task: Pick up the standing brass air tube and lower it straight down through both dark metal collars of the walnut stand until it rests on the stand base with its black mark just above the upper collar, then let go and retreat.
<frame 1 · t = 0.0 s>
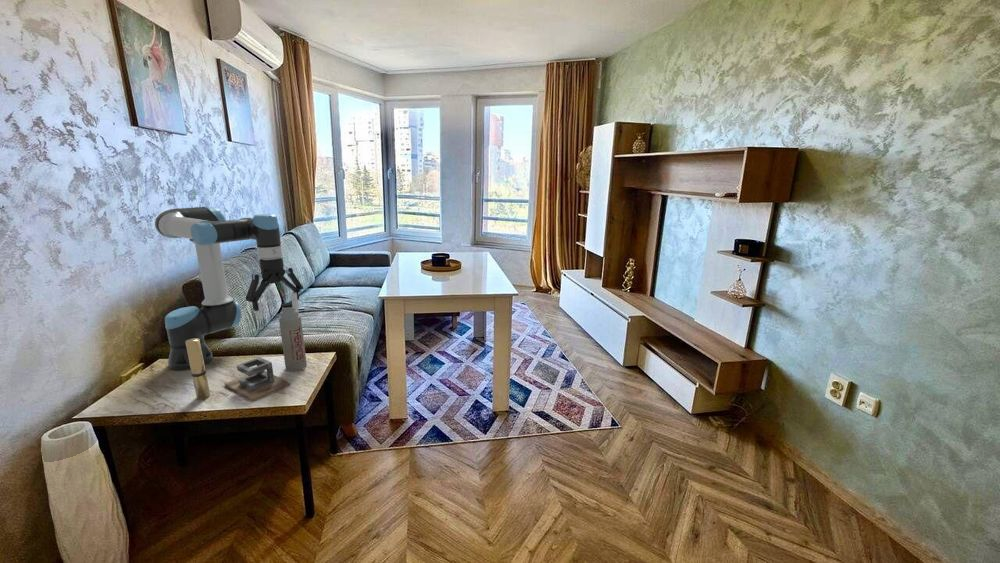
hand: (278, 313, 152), 28 cm above the table, fingers open, 13 cm apart
collar stand: (257, 385, 156), on the table
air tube: (203, 396, 147), on the table
thermos bottle: (296, 367, 171), on the table
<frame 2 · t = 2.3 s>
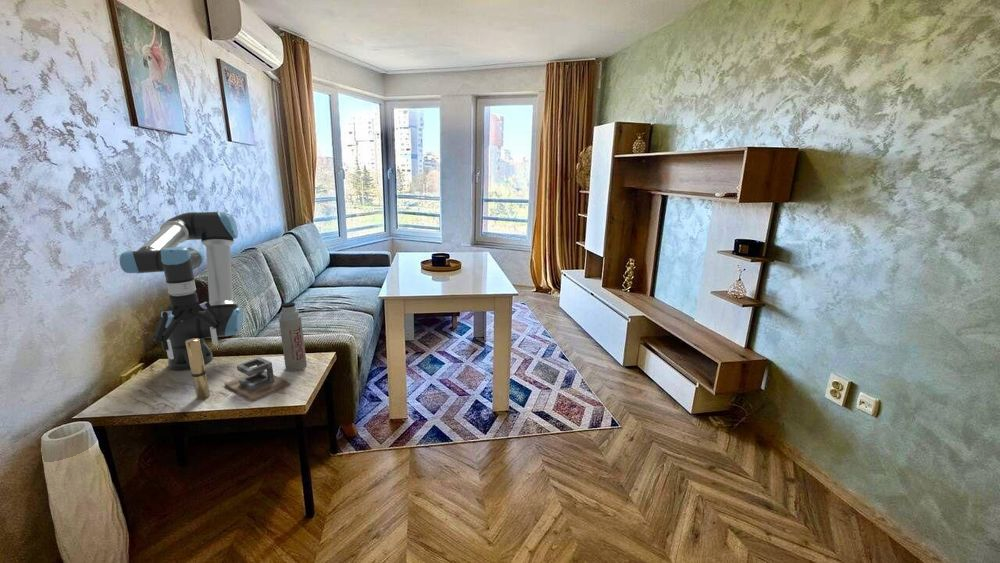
hand: (194, 351, 143), 18 cm above the table, fingers open, 13 cm apart
nothing on the table moved.
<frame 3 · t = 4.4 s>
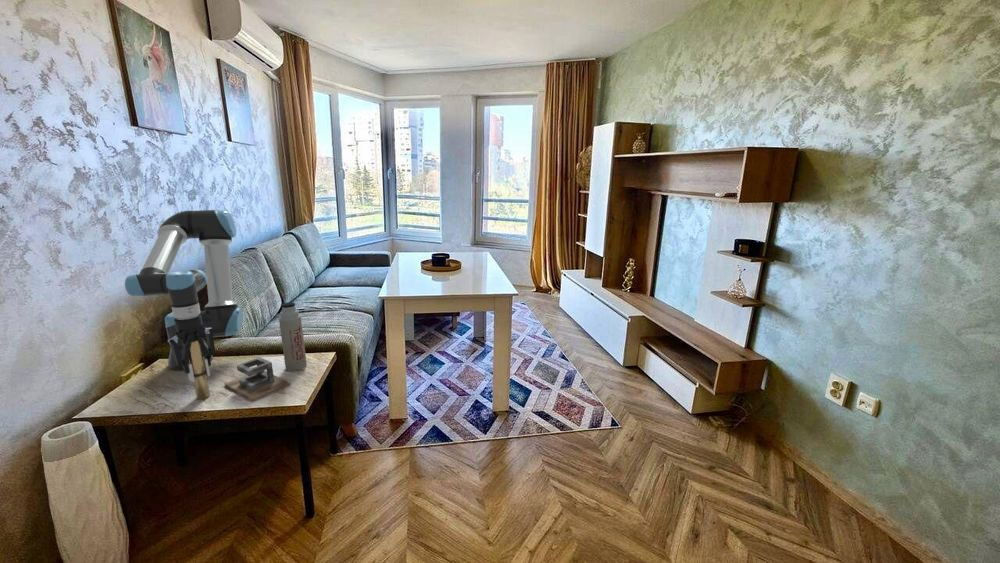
hand: (199, 377, 145), 8 cm above the table, fingers closed on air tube, 4 cm apart
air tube: (203, 396, 147), on the table, touching gripper
everything else where it was.
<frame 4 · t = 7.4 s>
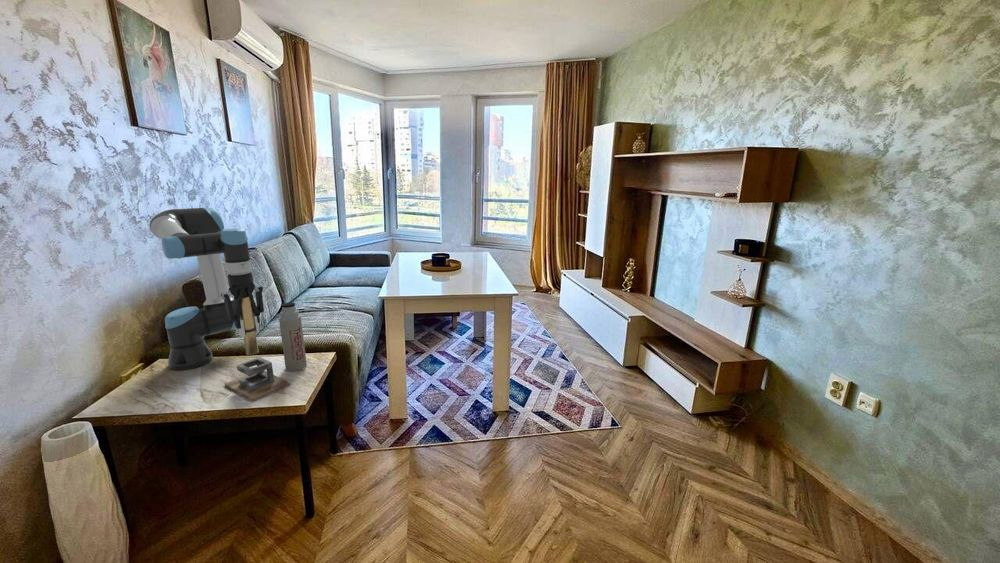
hand: (249, 333, 150), 21 cm above the table, fingers closed on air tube, 4 cm apart
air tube: (252, 352, 152), point 14 cm above the table, touching gripper
everything else where it was.
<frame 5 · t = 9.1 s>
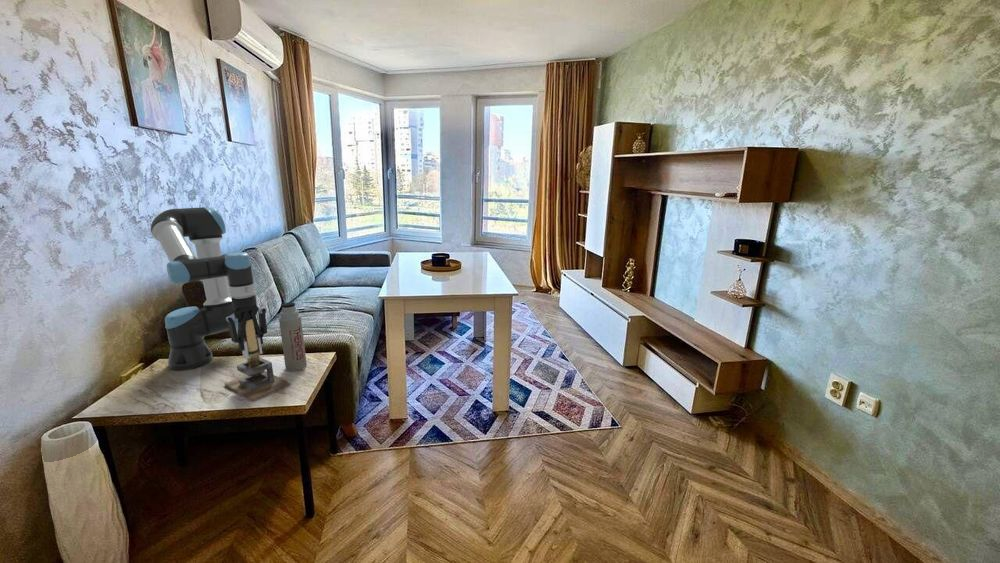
hand: (252, 355, 152), 13 cm above the table, fingers closed on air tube, 4 cm apart
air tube: (255, 373, 154), point 5 cm above the table, touching gripper
everything else where it was.
when the fingers open (11 cm above the table, at t = 10.6 s): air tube drops 2 cm, resting on collar stand.
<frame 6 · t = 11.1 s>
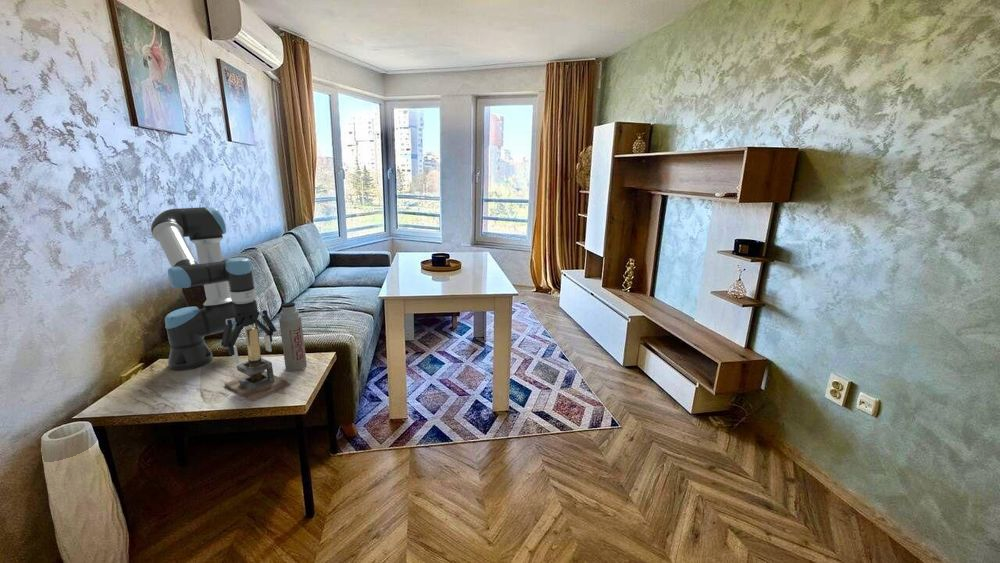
hand: (253, 356, 153), 12 cm above the table, fingers open, 11 cm apart
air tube: (257, 382, 155), point 1 cm above the table, touching collar stand
everything else where it was.
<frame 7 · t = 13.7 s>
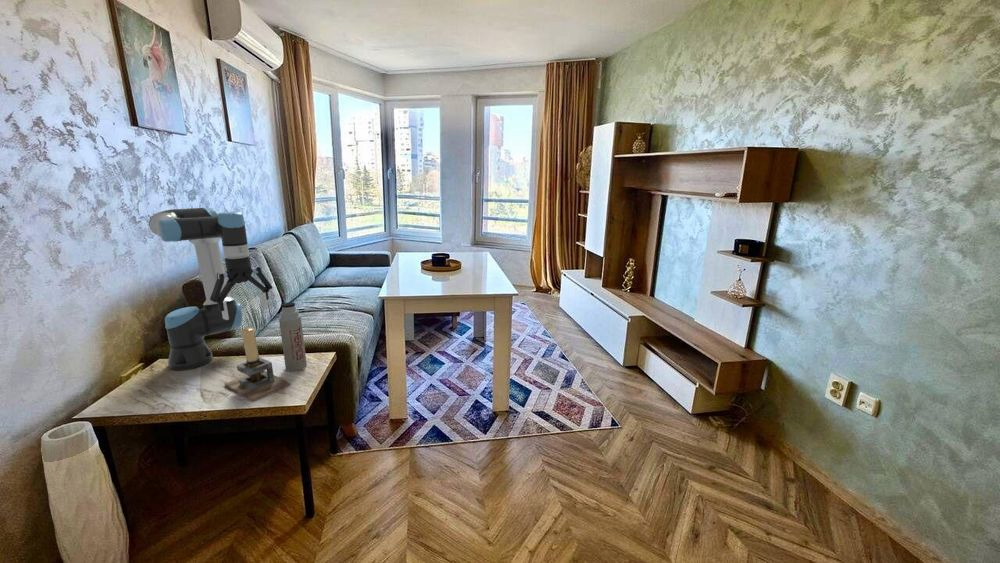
hand: (246, 313, 148), 29 cm above the table, fingers open, 13 cm apart
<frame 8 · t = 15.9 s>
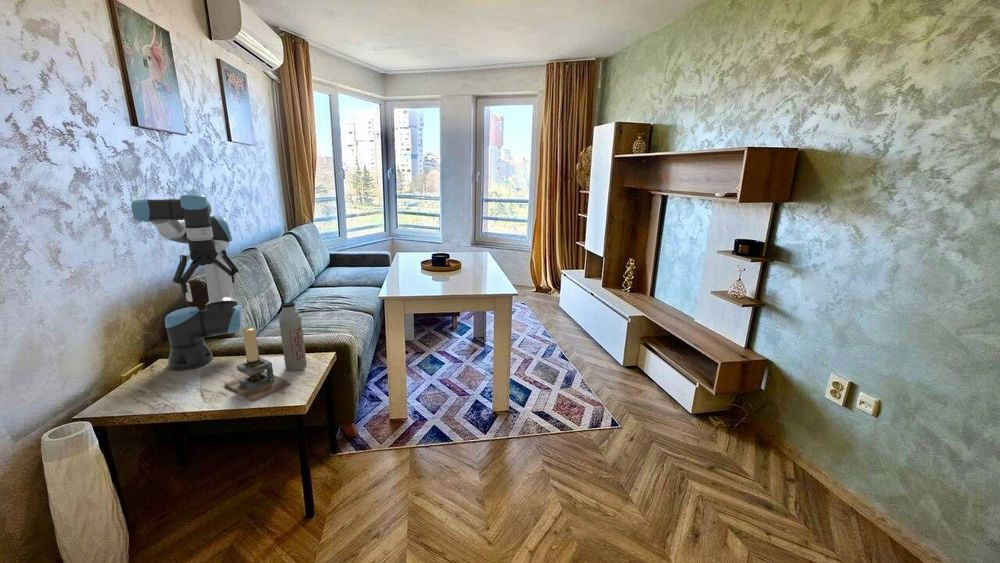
hand: (211, 296, 149), 35 cm above the table, fingers open, 13 cm apart
nothing on the table moved.
at the end: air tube 0.0 cm off-centre on the collar stand, point 1.0 cm above the collar stand's base; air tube tilted 1°; the gripper is holding nothing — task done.
